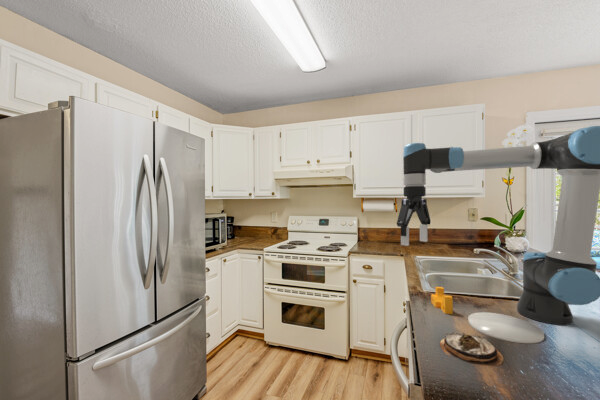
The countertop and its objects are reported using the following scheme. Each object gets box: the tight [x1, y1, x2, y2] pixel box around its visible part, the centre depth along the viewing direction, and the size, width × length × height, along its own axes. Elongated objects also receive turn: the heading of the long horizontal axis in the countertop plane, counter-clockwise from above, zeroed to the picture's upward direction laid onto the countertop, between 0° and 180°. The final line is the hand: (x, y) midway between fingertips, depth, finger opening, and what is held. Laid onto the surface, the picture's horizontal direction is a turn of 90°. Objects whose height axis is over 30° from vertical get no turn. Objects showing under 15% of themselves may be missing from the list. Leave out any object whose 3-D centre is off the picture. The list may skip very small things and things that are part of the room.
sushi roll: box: [439, 331, 504, 366], centre depth 77 cm, size 15×15×4 cm
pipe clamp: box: [430, 286, 454, 315], centre depth 108 cm, size 12×4×6 cm, turn 169°
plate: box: [467, 311, 545, 344], centre depth 90 cm, size 20×20×1 cm
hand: (414, 243), depth 101 cm, fingers open, 13 cm apart
